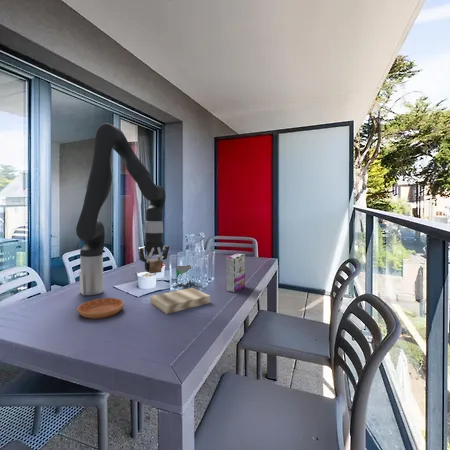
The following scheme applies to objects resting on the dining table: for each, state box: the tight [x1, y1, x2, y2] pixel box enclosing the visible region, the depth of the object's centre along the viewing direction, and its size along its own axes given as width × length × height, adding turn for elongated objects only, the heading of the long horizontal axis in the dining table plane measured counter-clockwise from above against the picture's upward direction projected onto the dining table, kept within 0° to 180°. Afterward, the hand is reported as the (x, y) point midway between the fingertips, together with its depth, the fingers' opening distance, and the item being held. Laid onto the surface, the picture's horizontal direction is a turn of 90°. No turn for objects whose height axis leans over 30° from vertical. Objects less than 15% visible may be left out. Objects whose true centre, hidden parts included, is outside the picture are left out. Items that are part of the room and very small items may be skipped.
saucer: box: [77, 297, 125, 320], centre depth 108 cm, size 16×16×3 cm
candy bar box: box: [225, 253, 246, 293], centre depth 139 cm, size 11×5×16 cm, turn 150°
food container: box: [175, 265, 192, 278], centre depth 147 cm, size 12×6×10 cm, turn 168°
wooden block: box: [150, 287, 211, 315], centre depth 118 cm, size 20×14×3 cm
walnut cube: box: [146, 258, 163, 275], centre depth 125 cm, size 5×5×5 cm
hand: (153, 269), depth 125 cm, fingers closed on walnut cube, 5 cm apart
